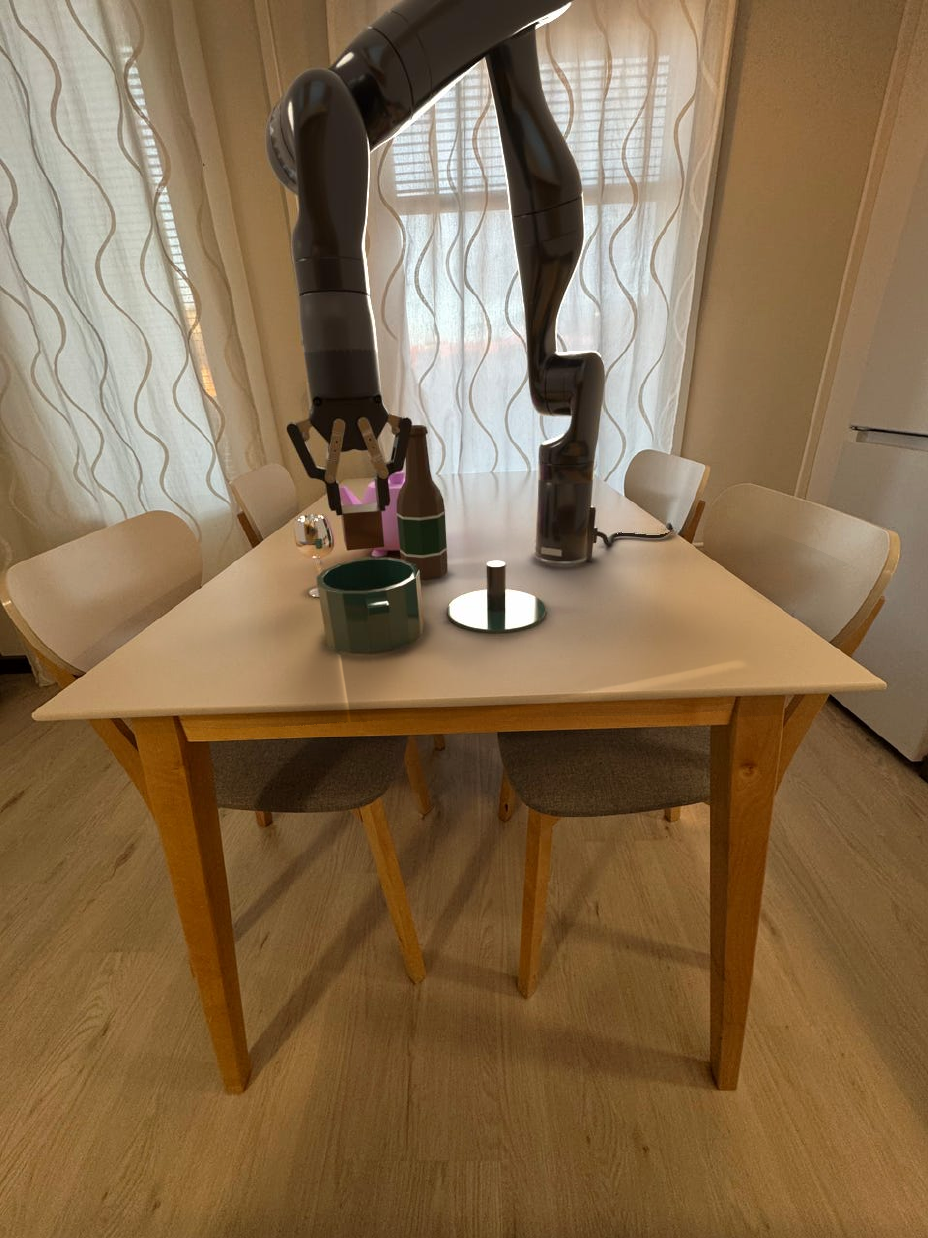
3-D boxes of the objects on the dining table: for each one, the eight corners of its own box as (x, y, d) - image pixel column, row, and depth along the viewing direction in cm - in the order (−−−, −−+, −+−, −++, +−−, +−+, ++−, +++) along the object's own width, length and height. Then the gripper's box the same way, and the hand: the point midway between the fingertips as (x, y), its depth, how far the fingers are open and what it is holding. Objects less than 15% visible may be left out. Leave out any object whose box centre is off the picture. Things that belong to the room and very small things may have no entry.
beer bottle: (457, 574, 86) (451, 424, 75) (424, 587, 81) (412, 428, 70) (426, 564, 90) (416, 422, 80) (393, 577, 85) (378, 427, 75)
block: (379, 537, 63) (376, 502, 62) (384, 547, 60) (381, 510, 58) (344, 540, 62) (339, 505, 60) (346, 550, 58) (342, 513, 57)
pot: (409, 601, 76) (404, 547, 72) (438, 657, 60) (433, 592, 56) (324, 614, 73) (314, 558, 69) (330, 676, 57) (319, 609, 53)
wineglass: (332, 599, 77) (320, 523, 72) (298, 597, 79) (283, 522, 73) (347, 585, 82) (337, 513, 77) (315, 584, 84) (303, 512, 78)
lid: (522, 590, 78) (523, 543, 75) (562, 627, 66) (565, 573, 63) (437, 603, 75) (434, 554, 71) (463, 644, 63) (461, 588, 60)
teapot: (363, 532, 112) (354, 462, 105) (451, 532, 109) (448, 461, 102) (329, 561, 94) (317, 479, 88) (434, 562, 91) (428, 478, 85)
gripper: (266, 347, 47) (298, 526, 54) (415, 344, 50) (426, 513, 58) (270, 351, 53) (298, 511, 61) (402, 349, 57) (413, 500, 64)
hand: (360, 511), depth 59 cm, fingers closed on block, 4 cm apart
